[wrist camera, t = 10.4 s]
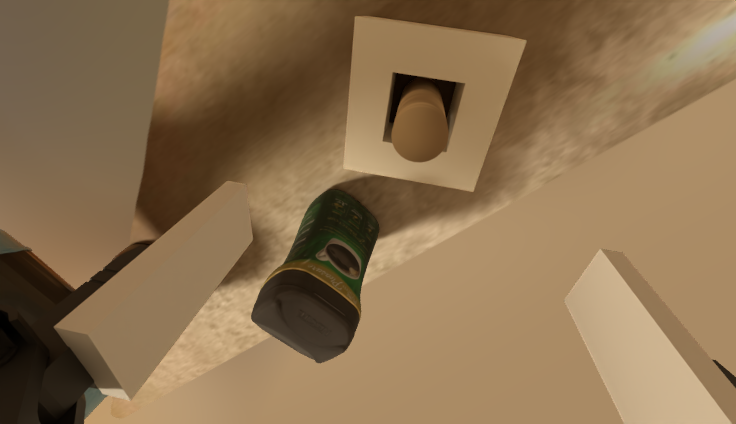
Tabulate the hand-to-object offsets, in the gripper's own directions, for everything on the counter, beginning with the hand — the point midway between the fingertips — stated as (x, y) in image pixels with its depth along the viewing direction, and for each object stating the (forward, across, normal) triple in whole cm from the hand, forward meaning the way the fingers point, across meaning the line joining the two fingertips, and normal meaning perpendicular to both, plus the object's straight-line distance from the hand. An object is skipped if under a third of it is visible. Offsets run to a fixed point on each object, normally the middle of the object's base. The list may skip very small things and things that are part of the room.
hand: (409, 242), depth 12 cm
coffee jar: (+24, -7, -17) cm, 30 cm away
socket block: (+24, 0, 0) cm, 24 cm away
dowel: (+24, 0, 0) cm, 24 cm away
